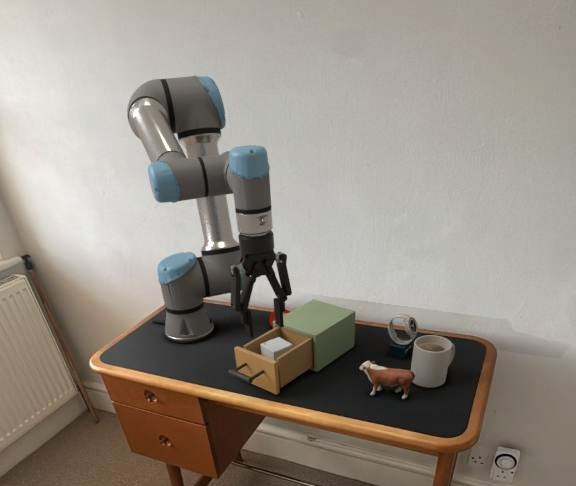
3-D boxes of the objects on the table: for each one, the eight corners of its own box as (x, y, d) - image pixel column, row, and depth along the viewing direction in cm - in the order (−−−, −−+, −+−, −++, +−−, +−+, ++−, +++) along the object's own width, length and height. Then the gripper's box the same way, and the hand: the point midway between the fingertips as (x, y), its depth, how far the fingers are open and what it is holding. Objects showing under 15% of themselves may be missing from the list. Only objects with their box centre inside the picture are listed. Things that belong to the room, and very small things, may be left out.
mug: (410, 387, 116) (415, 351, 110) (408, 367, 123) (412, 333, 117) (456, 388, 114) (463, 352, 108) (450, 368, 122) (457, 334, 115)
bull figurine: (359, 384, 118) (361, 356, 113) (413, 392, 114) (417, 363, 109) (355, 393, 115) (356, 364, 110) (410, 402, 111) (414, 373, 106)
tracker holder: (275, 330, 142) (262, 311, 148) (278, 340, 146) (265, 321, 151) (310, 313, 144) (295, 295, 149) (312, 323, 147) (297, 306, 153)
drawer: (260, 405, 111) (257, 374, 106) (222, 387, 119) (216, 357, 113) (317, 366, 124) (317, 336, 119) (279, 352, 132) (277, 323, 126)
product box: (275, 377, 119) (273, 352, 114) (262, 368, 123) (259, 343, 118) (294, 369, 122) (293, 344, 117) (280, 360, 126) (278, 336, 121)
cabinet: (316, 372, 124) (316, 335, 117) (275, 356, 132) (272, 321, 125) (354, 346, 134) (355, 310, 127) (313, 332, 142) (313, 299, 135)
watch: (409, 360, 126) (414, 323, 119) (382, 353, 130) (385, 316, 123) (417, 351, 130) (422, 314, 123) (391, 345, 133) (394, 309, 126)
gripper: (219, 246, 92) (234, 348, 106) (305, 225, 100) (308, 323, 114) (203, 237, 97) (219, 337, 111) (286, 218, 105) (291, 313, 119)
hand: (264, 330), depth 112 cm, fingers open, 8 cm apart
